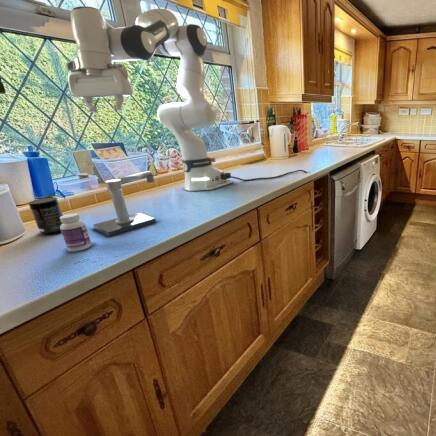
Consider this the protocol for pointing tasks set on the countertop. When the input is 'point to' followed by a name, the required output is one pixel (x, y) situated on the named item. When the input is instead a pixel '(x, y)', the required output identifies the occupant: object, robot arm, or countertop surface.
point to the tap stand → (122, 217)
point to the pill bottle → (74, 232)
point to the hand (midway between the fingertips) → (105, 111)
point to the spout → (128, 180)
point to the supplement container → (47, 215)
